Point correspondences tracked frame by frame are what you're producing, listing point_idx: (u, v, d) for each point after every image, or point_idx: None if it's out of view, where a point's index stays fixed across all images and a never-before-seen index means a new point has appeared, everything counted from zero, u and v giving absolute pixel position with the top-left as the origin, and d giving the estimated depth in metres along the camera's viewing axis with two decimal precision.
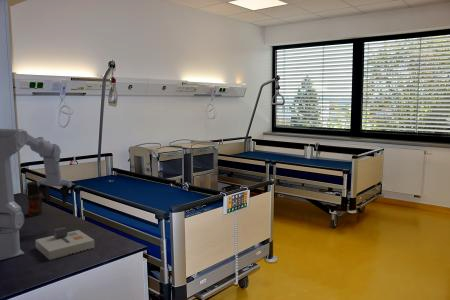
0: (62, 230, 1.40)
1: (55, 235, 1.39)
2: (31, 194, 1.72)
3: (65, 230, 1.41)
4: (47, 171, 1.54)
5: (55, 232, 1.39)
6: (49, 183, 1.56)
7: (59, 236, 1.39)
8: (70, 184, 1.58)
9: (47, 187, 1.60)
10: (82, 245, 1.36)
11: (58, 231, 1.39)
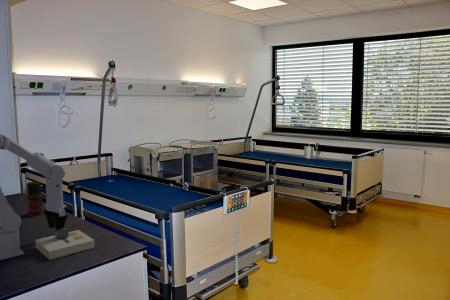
0: (63, 231, 1.39)
1: (56, 236, 1.38)
2: (31, 194, 1.72)
3: (66, 231, 1.40)
4: (46, 193, 1.40)
5: (56, 233, 1.38)
6: (46, 207, 1.41)
7: (60, 237, 1.38)
8: (62, 213, 1.38)
9: (53, 212, 1.46)
10: (82, 245, 1.36)
11: (59, 232, 1.38)
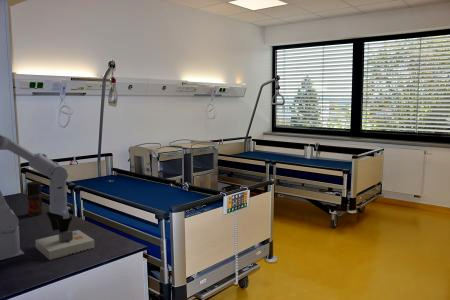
0: (67, 234, 1.36)
1: (60, 239, 1.36)
2: (31, 194, 1.72)
3: (70, 234, 1.37)
4: None
5: (60, 236, 1.36)
6: (50, 209, 1.38)
7: (64, 240, 1.36)
8: (66, 216, 1.35)
9: (56, 214, 1.43)
10: (82, 245, 1.36)
11: (63, 235, 1.35)
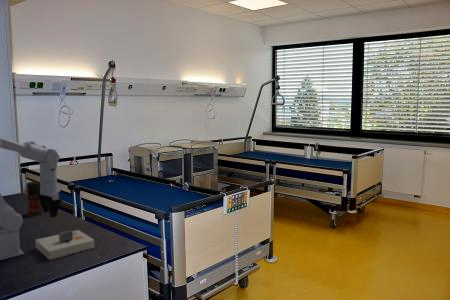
0: (67, 234, 1.36)
1: (60, 239, 1.36)
2: (31, 194, 1.72)
3: (70, 234, 1.37)
4: (40, 178, 1.40)
5: (60, 236, 1.36)
6: (40, 191, 1.41)
7: (64, 240, 1.36)
8: (55, 197, 1.38)
9: (47, 197, 1.47)
10: (82, 245, 1.36)
11: (63, 235, 1.35)
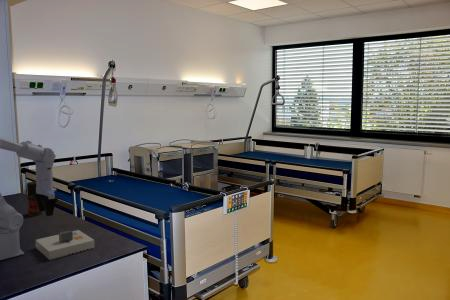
0: (67, 234, 1.36)
1: (60, 239, 1.36)
2: (31, 194, 1.72)
3: (70, 234, 1.37)
4: (37, 177, 1.41)
5: (60, 236, 1.36)
6: (36, 190, 1.42)
7: (64, 240, 1.36)
8: (51, 196, 1.39)
9: (43, 195, 1.47)
10: (82, 245, 1.36)
11: (63, 235, 1.35)
